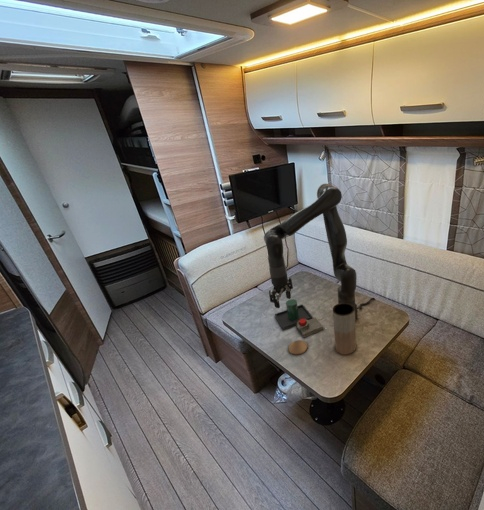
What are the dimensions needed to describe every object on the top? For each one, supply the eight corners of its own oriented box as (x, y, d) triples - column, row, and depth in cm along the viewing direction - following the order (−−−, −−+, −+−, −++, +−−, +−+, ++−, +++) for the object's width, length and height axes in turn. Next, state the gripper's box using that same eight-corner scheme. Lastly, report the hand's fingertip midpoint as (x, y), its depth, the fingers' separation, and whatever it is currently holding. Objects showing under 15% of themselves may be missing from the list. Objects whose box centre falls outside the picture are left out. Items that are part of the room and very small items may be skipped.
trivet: (303, 339, 142) (302, 338, 142) (310, 350, 135) (310, 349, 135) (286, 346, 138) (286, 345, 138) (292, 357, 131) (292, 356, 131)
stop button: (304, 320, 150) (304, 317, 150) (307, 324, 148) (307, 321, 147) (298, 322, 149) (298, 320, 148) (301, 326, 146) (300, 323, 145)
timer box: (315, 320, 156) (314, 314, 154) (323, 329, 148) (322, 323, 147) (295, 327, 151) (294, 321, 149) (302, 338, 143) (301, 331, 141)
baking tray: (302, 306, 168) (302, 304, 168) (312, 319, 157) (312, 316, 156) (275, 316, 161) (274, 314, 160) (283, 330, 149) (283, 327, 149)
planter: (337, 339, 141) (335, 301, 132) (357, 340, 139) (356, 303, 130) (333, 353, 132) (330, 314, 123) (354, 355, 130) (352, 316, 121)
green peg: (296, 312, 162) (294, 298, 158) (300, 317, 158) (298, 303, 153) (286, 316, 160) (284, 301, 156) (290, 321, 155) (288, 306, 151)
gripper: (275, 282, 120) (280, 313, 127) (294, 268, 132) (298, 296, 139) (261, 279, 124) (267, 309, 130) (281, 265, 135) (286, 293, 142)
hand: (283, 302), depth 135 cm, fingers open, 8 cm apart
